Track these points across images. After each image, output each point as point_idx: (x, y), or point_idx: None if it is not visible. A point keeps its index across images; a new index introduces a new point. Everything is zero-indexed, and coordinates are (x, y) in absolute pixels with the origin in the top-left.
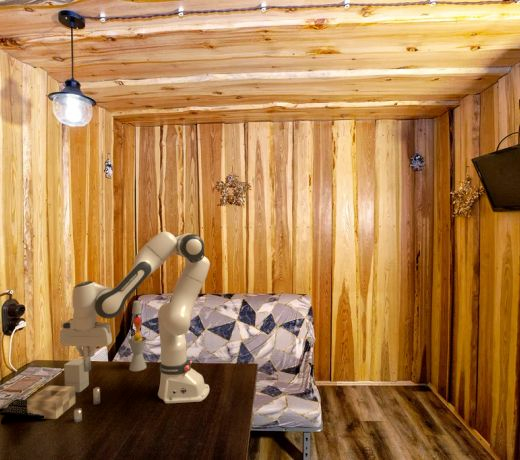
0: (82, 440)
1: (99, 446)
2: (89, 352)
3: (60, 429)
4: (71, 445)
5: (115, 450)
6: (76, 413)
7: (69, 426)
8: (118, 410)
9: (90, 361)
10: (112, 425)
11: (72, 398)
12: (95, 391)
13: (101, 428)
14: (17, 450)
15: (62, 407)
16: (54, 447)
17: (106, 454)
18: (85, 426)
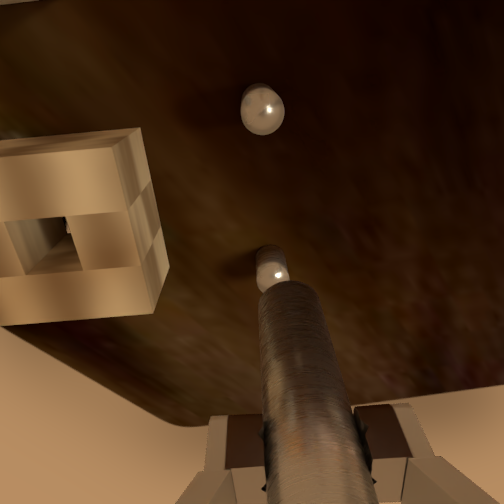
0: (366, 350)
1: (439, 363)
2: (378, 495)
3: (244, 316)
4: (344, 373)
5: (499, 369)
6: None
7: None
8: (417, 155)
9: (336, 358)
10: (437, 264)
11: (136, 161)
12: (267, 132)
13: (400, 287)
14: (194, 411)
15: (155, 240)
16: None
17: (477, 385)
18: (329, 287)
